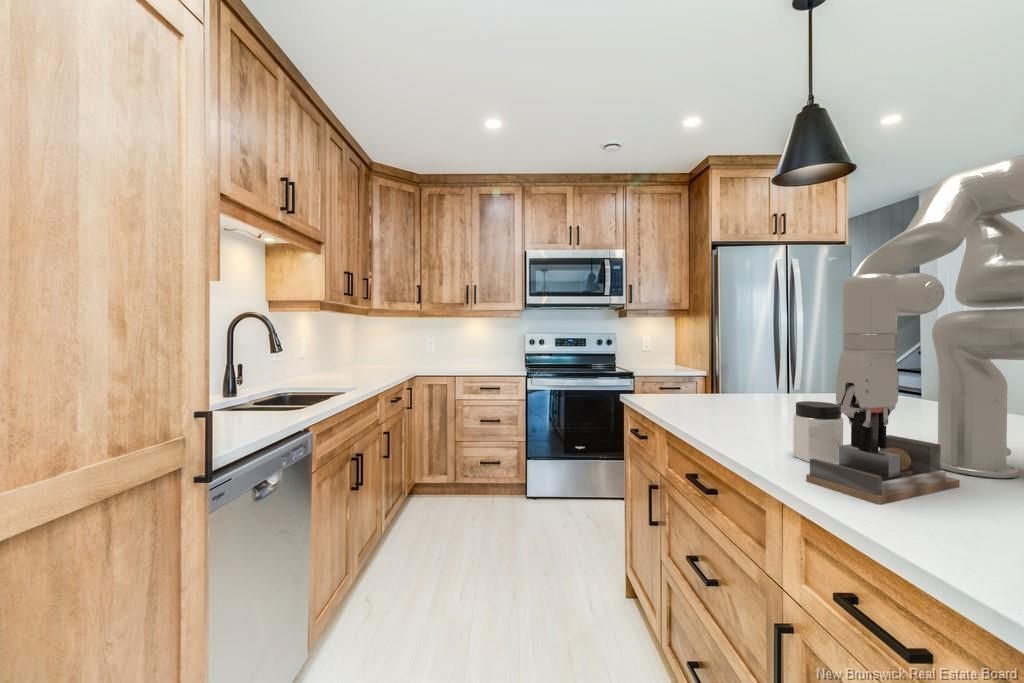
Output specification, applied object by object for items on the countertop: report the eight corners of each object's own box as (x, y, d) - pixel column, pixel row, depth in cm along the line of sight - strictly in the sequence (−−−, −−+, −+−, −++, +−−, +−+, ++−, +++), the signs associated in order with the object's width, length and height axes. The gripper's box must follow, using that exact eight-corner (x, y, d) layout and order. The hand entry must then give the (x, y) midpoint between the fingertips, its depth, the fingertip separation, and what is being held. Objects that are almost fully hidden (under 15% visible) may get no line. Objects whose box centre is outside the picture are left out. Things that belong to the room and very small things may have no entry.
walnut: (888, 466, 84) (888, 443, 84) (916, 473, 80) (916, 449, 80) (873, 469, 82) (873, 446, 82) (901, 476, 78) (901, 452, 78)
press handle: (851, 470, 83) (851, 400, 83) (901, 483, 75) (901, 407, 75) (837, 472, 82) (837, 401, 81) (887, 486, 74) (887, 408, 74)
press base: (882, 467, 89) (882, 432, 89) (959, 486, 78) (960, 446, 78) (806, 481, 82) (806, 442, 81) (879, 504, 70) (879, 459, 70)
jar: (830, 467, 90) (830, 408, 89) (787, 458, 96) (787, 403, 96) (848, 460, 95) (849, 404, 94) (806, 451, 101) (806, 399, 101)
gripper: (875, 343, 84) (874, 438, 85) (816, 344, 79) (815, 446, 79) (923, 343, 77) (922, 447, 78) (862, 345, 72) (861, 457, 72)
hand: (868, 446), depth 78 cm, fingers closed on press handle, 2 cm apart
